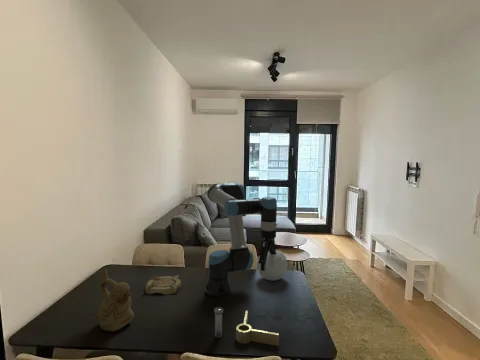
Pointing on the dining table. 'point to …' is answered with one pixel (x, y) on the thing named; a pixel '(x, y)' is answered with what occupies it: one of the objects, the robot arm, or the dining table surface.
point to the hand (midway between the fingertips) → (267, 271)
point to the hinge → (254, 334)
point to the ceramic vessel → (114, 304)
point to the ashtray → (163, 285)
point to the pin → (218, 321)
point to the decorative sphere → (275, 266)
